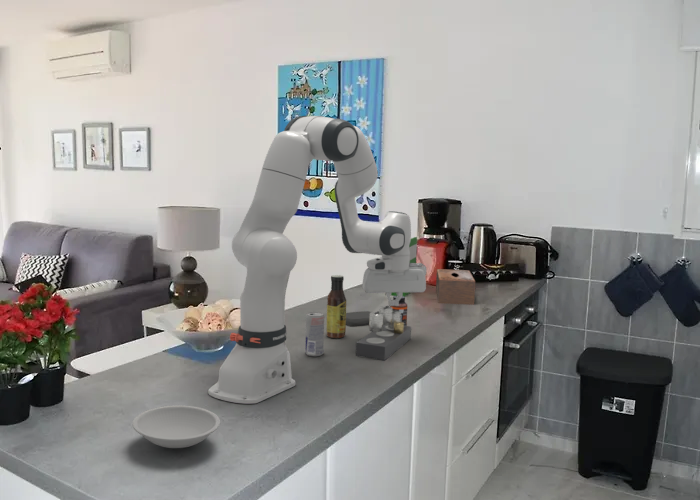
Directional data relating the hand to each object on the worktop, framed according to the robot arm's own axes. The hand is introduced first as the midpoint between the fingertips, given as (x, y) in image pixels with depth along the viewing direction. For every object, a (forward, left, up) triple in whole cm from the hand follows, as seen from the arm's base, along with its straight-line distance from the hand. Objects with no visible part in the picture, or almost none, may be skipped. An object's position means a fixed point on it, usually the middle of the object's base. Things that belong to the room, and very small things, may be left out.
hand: (393, 305), depth 183 cm
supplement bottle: (+13, +3, -11) cm, 18 cm away
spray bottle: (+20, +15, -12) cm, 28 cm away
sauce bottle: (-5, +18, -11) cm, 22 cm away
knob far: (0, 0, -7) cm, 7 cm away
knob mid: (-8, 0, -4) cm, 9 cm away
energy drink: (-24, +16, -11) cm, 31 cm away
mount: (-8, 0, -11) cm, 14 cm away
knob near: (-16, 0, -4) cm, 16 cm away
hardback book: (+70, +21, -11) cm, 74 cm away
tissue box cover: (+72, -2, -12) cm, 73 cm away
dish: (-86, +14, -12) cm, 88 cm away
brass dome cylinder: (-4, -3, -7) cm, 9 cm away
